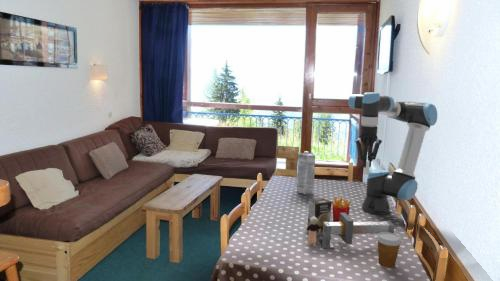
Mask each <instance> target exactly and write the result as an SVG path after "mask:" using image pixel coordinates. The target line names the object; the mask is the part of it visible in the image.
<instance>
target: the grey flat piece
mask: <svg viewBox="0 0 500 281" xmlns="http://www.w3.org/2000/svg"><path fill="white" fill-rule="evenodd" d="M339 222H344V223H345V224H346V226H345V235H341V234H337V235H338V237H339V238H341V239H342V241H343V242H344V243H345V244H346V245H353V235H354V234H353V223H354V222H355V221H354V219H352V218H351V216H350V215H347V214H346V213H340V218H339Z"/></svg>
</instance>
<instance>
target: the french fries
mask: <svg viewBox="0 0 500 281" xmlns="http://www.w3.org/2000/svg"><path fill="white" fill-rule="evenodd" d="M330 201H331V202H332V203H331V210H332V222H339V218H340V213H346V214H347V215H348V216H350V215H349V214H350V209H351V206H350V205H351V204H352V201H351V200H350V201H349V199H345V198H344V197H343V196H341V197H339V198H338V196H334V200H330ZM342 201H343V202H342Z"/></svg>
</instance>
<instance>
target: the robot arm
mask: <svg viewBox="0 0 500 281" xmlns="http://www.w3.org/2000/svg"><path fill="white" fill-rule="evenodd" d="M347 105H348V107H349V108H350V109H353V110H361V121H360V122H361V124H360V125H361V126H360V135H359V137H358V138H357V139H354V142H355V145H356V150H357V155H358V159H359V160H361V162H362V163H361V164H362V165H361V166H362V168H363V174H364V175H367V178H366V191H365V192H366V193H365V197H364V199H363V202H362V204H361V210H362V211H364V212H366V213H370V214H375V215H386V214H389V213H390V209H391V207H390V203H389V200H388V197H392V198H394V199H395V198H396V199H398V200H403V201H410V200H411V199H413V198H414V196H415V195H416V193H417V190H418V188H419V187H418V185H419V183H418V182H417V180H416V176H415V171H416V170H415V169H416V166H417V163H418V159H419V155H420V153H421V148H422V145H423V143H424V139H425V135H426V132H427V131H429V130H430V128H431V127H432V126H435V125H436V124H437V120H438V110H437V107H436V105H434V104H433V103H428V102H415V101H395V99H394V98H393V97H392V96H391V95H380V93H379V92H369V91H368V92H364V93H363V94H358V93H357V94H351V95H350V96H349V98H348V104H347ZM379 115H384V116H386V117H387V118H389V119H393V120H396V121H399V122H403V123H406V124H407V127H408V131H407V134H406V137H405V142H404V145H403V148H402V151H401V154H400V158H399V161H398V165H397V167H396V169H395V170H393V171H392V174H391V171H390V170H387V169H373V170H370V168H371V167H372V162H373V161H375V160H376V158H377V155H378V153H379V149H380V145H381V143H383V140H381V139H380V138H378V135H377V134H378V125H379ZM361 143H362V144H361Z"/></svg>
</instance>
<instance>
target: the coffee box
mask: <svg viewBox="0 0 500 281" xmlns="http://www.w3.org/2000/svg"><path fill="white" fill-rule="evenodd" d="M331 201H332V200H329V199H326V198H316V199H310V200H309V199H308V208H307V209H308V211H307V225H306V228H307V227H308V226H309V225H310V224H312V223H311V221H310V219H311V217H316V218H317V219H318V221H317V223H316V224H317V225H319V226H320V230H321V232H319V230H318V229H317V233H316V237H320V236H323V222H331V216H332V214H331V212H332V202H331ZM309 231H310V230H308V232H307V234H309Z"/></svg>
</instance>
